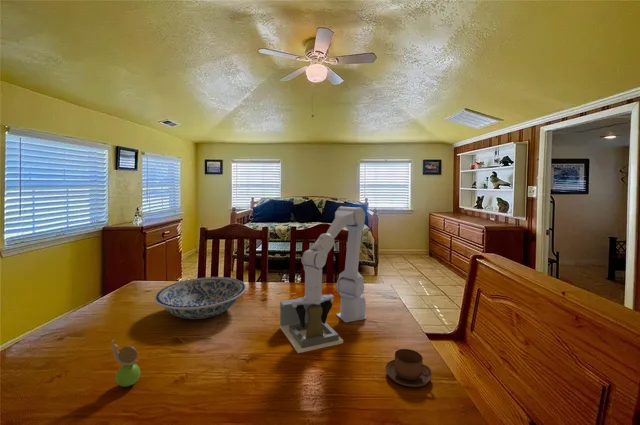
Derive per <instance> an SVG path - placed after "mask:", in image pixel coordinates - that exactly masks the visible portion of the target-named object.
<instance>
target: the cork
mask: <svg viewBox="0 0 640 425" xmlns="http://www.w3.org/2000/svg"><path fill="white" fill-rule="evenodd" d="M322 312H323V310H322V307H321V306H320V305H317V304H312V305H310V306H309V307H308V308H307V313H308V315H309V317H308V324H307V331H306V339H308V338H313V337H318V336H323V329H322V321H321V315H322Z"/></svg>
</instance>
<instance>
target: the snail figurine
mask: <svg viewBox="0 0 640 425" xmlns="http://www.w3.org/2000/svg"><path fill="white" fill-rule="evenodd" d="M114 342H115V339H112V341H111V342H110V344H112V345H111V350H112V353H113V356H114V357H113V358H114V360H115V361H116V363H118V364H119V365H121V367H119V369H118V370H117V371H116V373H115V381H116V382H115V383H116V384H117V385H118V386H120V387H124V388H127V387H130V386H133V385H134V384H136V383H137V382H138V380H139V378H140V375H141V369H140V366H139V365H138V364H137V363H138V362H139V359H137V358H138V353H139V352H138V350H137V348H136V347H134V346H133V345H126V346H123V347H122V348H121V349H120V350H119V345H118V344H116V343H114Z"/></svg>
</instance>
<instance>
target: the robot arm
mask: <svg viewBox="0 0 640 425" xmlns="http://www.w3.org/2000/svg"><path fill="white" fill-rule="evenodd" d="M365 222H366V212H365V210H364V209H363V208H362V207H361V206H359V207H353V206H352V207H351V206H342V205H341V206H339V207H337V209H336V211H335V212H334V219H333V221H332V222H331V225H330V226H329V227H328V229H327V231H326V233H321V234H320V235H319V236H318V238H317V239H316V241H315V242H314V243H313V245H312V246H311V248H310V249H307V250H305V251H304V252H303V253H302V256H301V259H300V260H301V263H302V265H303V271H304V296H302V297H300V298H299V299H298V298H294V299H295V300H292V306H293V307H294V308H295V309H296V311H297V313H298V316H299V319H300V325H301V326H302V328H304V327H305V313H306V310H305V309H304V306H303V305H309V304H320V305H321V307H322V310H323V312H322V315H321V321H322V323H323V324H325V323H327V319H328V315H329V313H330V311H331V309H332V307H333V303H332V302H334V301H335V300H334V299H335V298H334V297H335V296H334V295H333V294H331V293H329V294H323V268H324V267H325V265H326V263H327V258H328V254H329V252H330V251H331V250H332V248H333V247H334V245H335V242H336V241H335V238H336V237H337V236H338V235H339V233H341V231H342V230H343V229H344V227H345V228H346V229H347V231H348V233H347V234H348V235H347V242H346V243H347V244H346V253H345V254H346V255H345V264H344V270H343V271H341V272H340V273H339V274H338V279H337V281H336V291H337V292H338V293H339V294H338V295H339V296H340V312H338V313H336V316H337V317H338V318H340V320H342V321H343V322H344V323H350V322H357V321H360V320H366V319H367V317H366V305H367V304H366V298H365V296H364V295H363V294H364V291H365V284H364V277H363V275H361V273H360V272H359V262H360V254H361V253H360V252H361V244H362V243H361V242H362V233H363V230H364V228H365Z"/></svg>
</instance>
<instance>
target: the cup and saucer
mask: <svg viewBox="0 0 640 425" xmlns="http://www.w3.org/2000/svg"><path fill="white" fill-rule="evenodd" d="M423 360H424V357H423V355H422V354H421V353H420V352H417V351H416V350H413V349H408V348H401V349H397V350H396V351H395V352H394V359H392V360H390V361H388V362H387V363H386V365H385V372H386V374H387V376H388V377H389V378H390V379H391V380H392V381H393V382H395V383H397V384H399V385H402V386H405V387H411V388H418V387H423V386H425V385H427V384H428V383H429V382H431V378H432V369H431V368H430V367H429V366H428V365H426V364H423V362H424V361H423Z"/></svg>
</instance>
